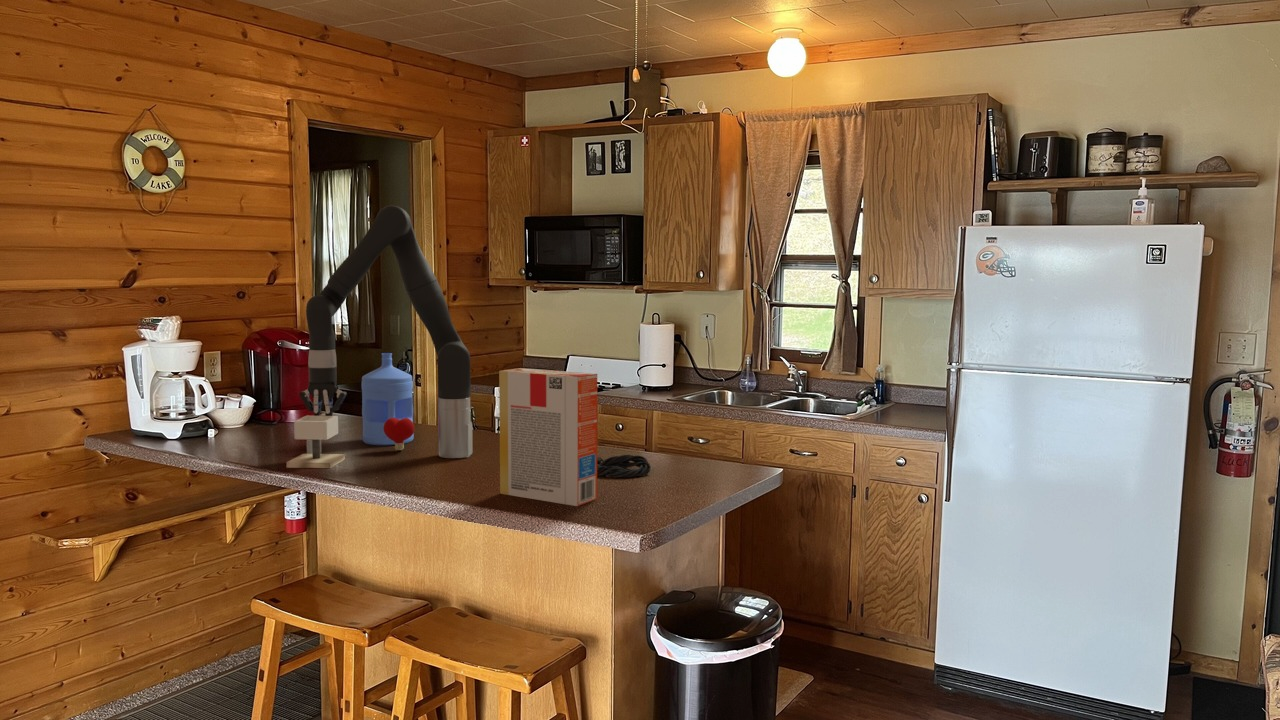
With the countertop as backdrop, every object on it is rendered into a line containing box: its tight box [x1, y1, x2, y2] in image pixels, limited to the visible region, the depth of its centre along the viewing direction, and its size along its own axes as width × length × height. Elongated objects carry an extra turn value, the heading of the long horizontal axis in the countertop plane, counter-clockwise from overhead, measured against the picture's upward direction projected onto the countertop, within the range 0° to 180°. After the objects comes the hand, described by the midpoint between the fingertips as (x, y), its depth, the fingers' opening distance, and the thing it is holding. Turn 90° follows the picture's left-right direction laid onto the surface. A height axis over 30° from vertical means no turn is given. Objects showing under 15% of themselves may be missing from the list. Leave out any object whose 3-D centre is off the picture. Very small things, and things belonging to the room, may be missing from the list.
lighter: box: [306, 439, 323, 454], centre depth 273 cm, size 7×2×8 cm, turn 150°
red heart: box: [383, 418, 416, 452], centre depth 277 cm, size 9×7×10 cm
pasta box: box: [498, 367, 598, 507], centre depth 221 cm, size 23×8×30 cm, turn 59°
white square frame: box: [293, 413, 339, 441], centre depth 260 cm, size 9×12×5 cm
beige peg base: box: [286, 439, 346, 469], centre depth 258 cm, size 12×12×10 cm
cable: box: [597, 454, 651, 479], centre depth 249 cm, size 17×14×4 cm
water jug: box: [361, 352, 415, 446], centre depth 292 cm, size 16×16×28 cm
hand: (323, 425), depth 264 cm, fingers closed on white square frame
